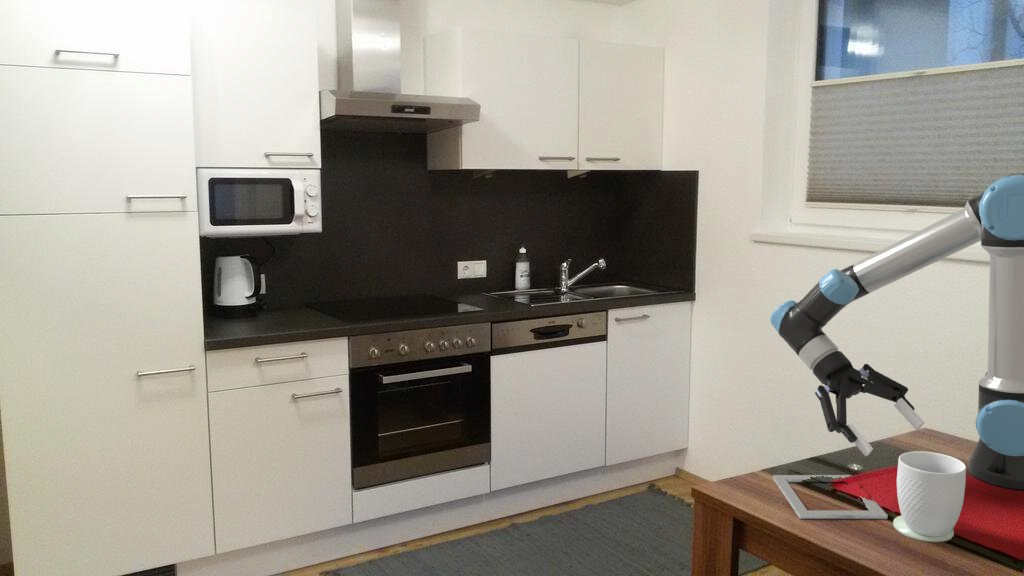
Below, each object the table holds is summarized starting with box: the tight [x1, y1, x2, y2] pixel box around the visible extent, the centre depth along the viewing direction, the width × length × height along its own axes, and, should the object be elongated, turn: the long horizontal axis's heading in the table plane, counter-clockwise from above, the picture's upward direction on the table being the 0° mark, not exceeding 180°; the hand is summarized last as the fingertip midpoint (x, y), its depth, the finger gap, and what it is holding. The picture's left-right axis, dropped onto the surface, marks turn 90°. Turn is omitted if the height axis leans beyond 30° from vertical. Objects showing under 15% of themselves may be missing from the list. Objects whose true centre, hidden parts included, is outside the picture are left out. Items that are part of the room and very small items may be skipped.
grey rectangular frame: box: [772, 474, 888, 520], centre depth 161 cm, size 16×20×1 cm
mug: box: [896, 450, 967, 537], centre depth 146 cm, size 15×11×13 cm
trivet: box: [892, 514, 955, 543], centre depth 147 cm, size 10×10×1 cm
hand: (895, 439), depth 159 cm, fingers open, 13 cm apart
